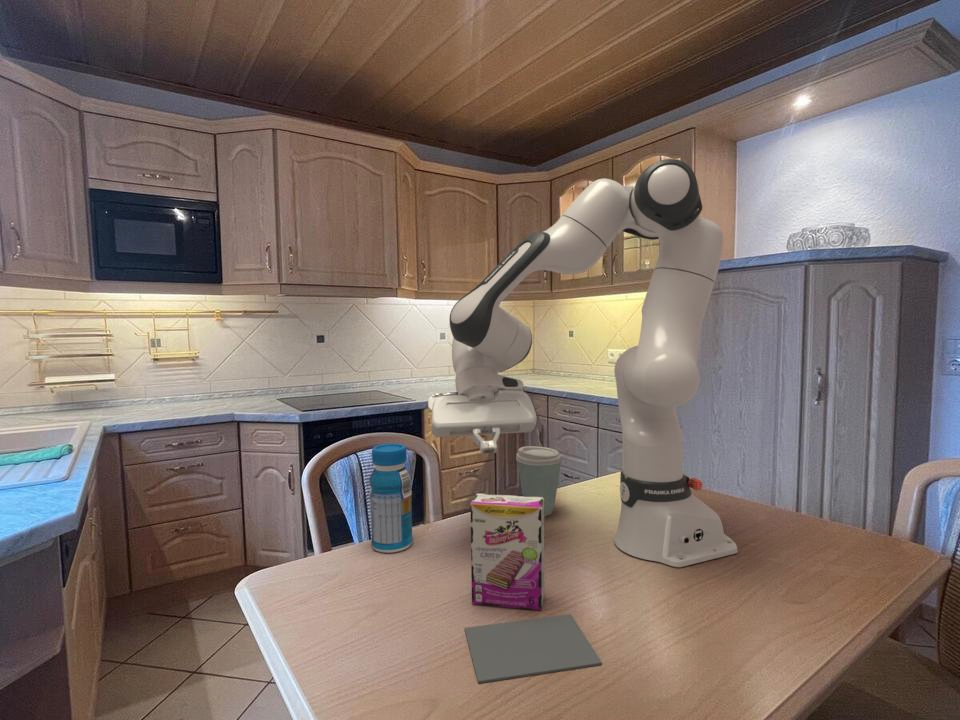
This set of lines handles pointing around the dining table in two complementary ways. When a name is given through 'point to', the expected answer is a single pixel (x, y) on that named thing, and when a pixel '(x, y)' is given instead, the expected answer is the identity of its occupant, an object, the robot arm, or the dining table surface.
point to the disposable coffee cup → (539, 473)
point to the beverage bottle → (390, 499)
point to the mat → (529, 648)
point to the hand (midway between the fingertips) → (489, 451)
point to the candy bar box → (507, 551)
